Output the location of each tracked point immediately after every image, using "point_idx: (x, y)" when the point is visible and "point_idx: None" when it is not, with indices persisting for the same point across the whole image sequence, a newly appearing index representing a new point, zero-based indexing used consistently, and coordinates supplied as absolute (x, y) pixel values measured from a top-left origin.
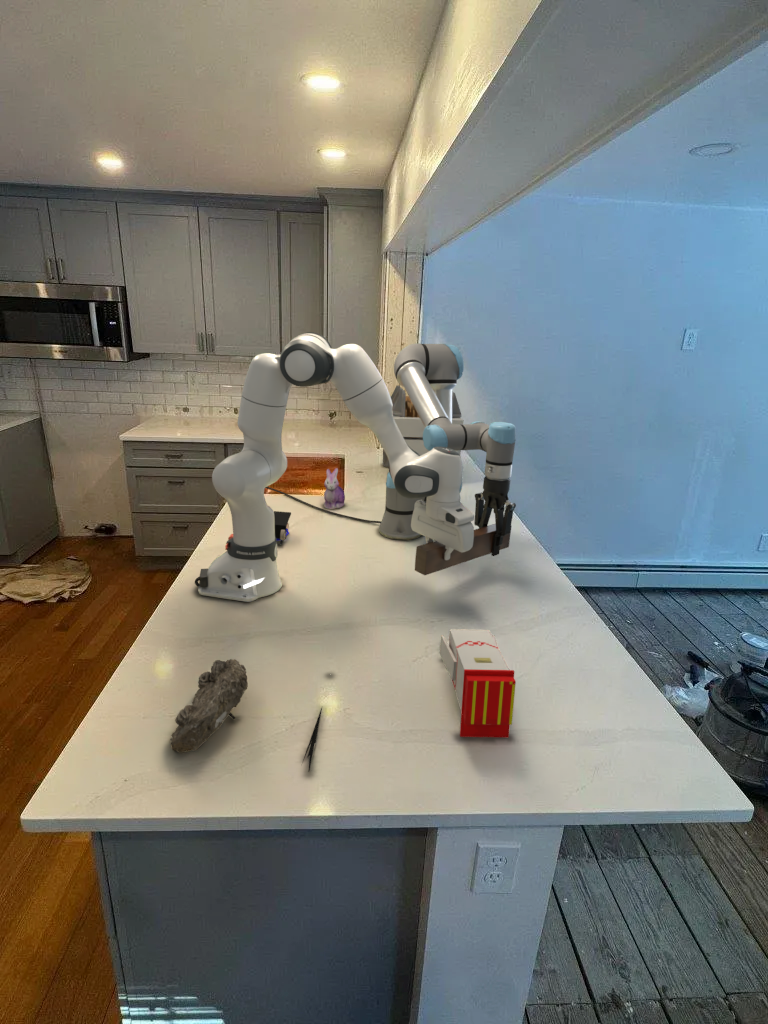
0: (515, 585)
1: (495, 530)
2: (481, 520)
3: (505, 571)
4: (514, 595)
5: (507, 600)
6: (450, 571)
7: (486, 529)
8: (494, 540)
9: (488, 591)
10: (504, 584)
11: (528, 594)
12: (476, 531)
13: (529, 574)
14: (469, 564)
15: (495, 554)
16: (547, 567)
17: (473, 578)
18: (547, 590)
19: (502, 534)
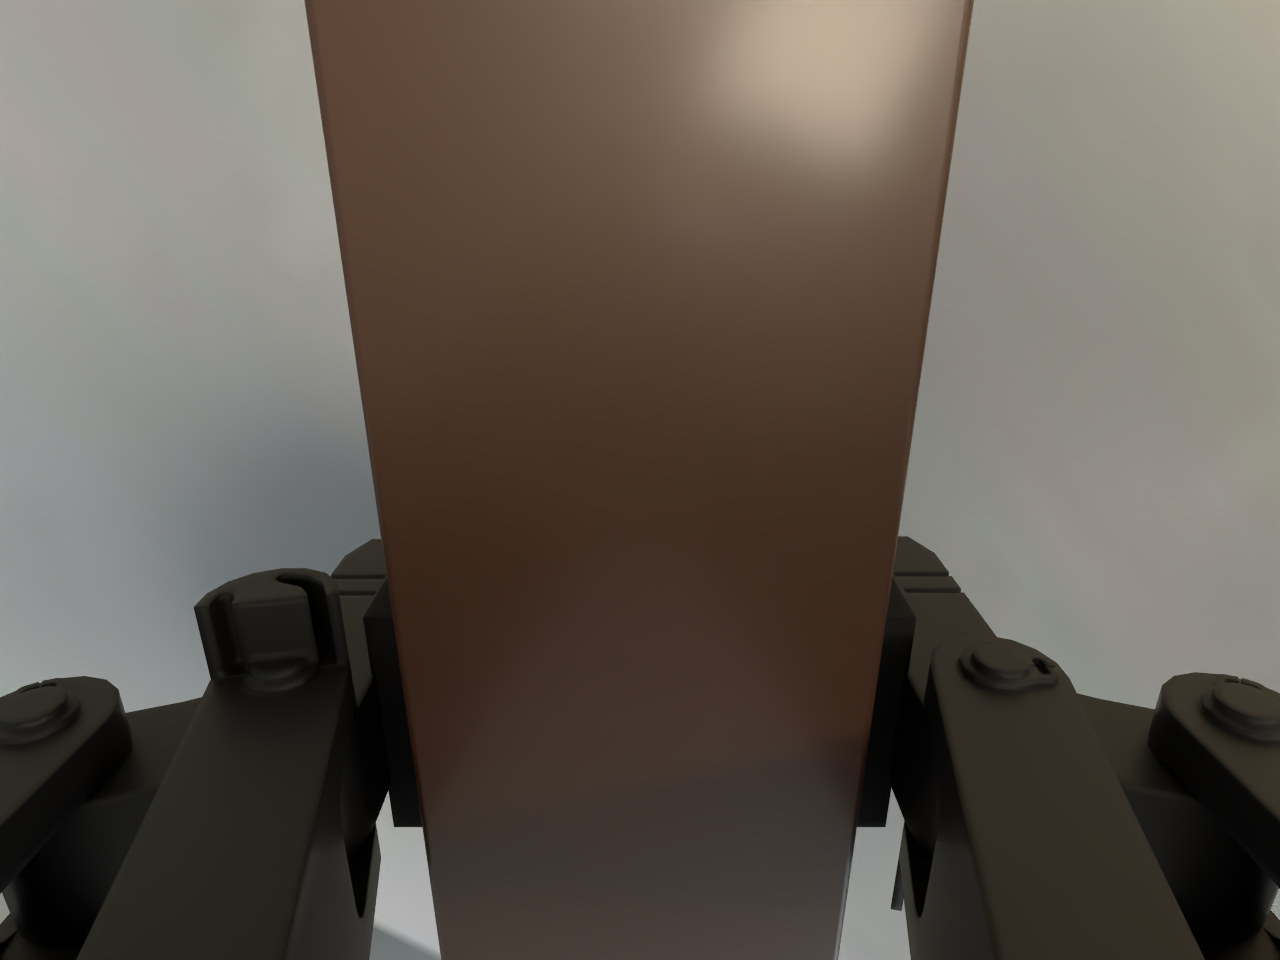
0: (267, 419)
1: (419, 764)
2: (1120, 880)
3: None
4: (79, 210)
5: (4, 22)
6: (980, 50)
7: (652, 602)
8: None
9: (296, 15)
10: (342, 339)
11: (40, 362)
12: (741, 47)
13: None
14: (927, 416)
15: None
16: (404, 920)
17: None
18: (41, 584)
19: (47, 693)
